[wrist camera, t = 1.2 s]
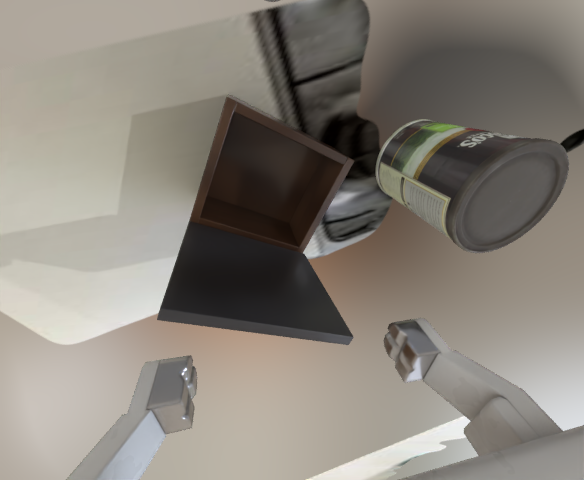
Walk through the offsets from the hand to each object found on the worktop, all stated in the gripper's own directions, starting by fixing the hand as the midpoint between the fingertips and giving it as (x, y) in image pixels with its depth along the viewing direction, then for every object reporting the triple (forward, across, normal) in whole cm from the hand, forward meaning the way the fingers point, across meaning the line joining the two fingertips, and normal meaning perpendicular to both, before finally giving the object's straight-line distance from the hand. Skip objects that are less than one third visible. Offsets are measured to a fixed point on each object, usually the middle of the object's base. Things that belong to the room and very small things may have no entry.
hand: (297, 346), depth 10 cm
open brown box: (+23, -1, 0) cm, 23 cm away
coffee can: (+23, -21, -1) cm, 31 cm away
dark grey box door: (+10, +1, +4) cm, 11 cm away
